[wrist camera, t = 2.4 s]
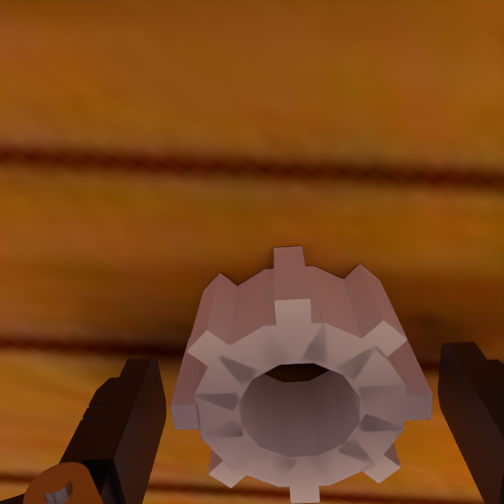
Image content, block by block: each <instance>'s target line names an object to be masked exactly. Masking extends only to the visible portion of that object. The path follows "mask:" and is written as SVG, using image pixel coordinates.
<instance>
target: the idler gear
mask: <svg viewBox="0 0 504 504" xmlns="http://www.w3.org/2000/svg"><path fill="white" fill-rule="evenodd" d="M302 363H315V364H317V365H320V366H322V367H325V368H327V369H329V371H327V372H325V373H324V374H322V375H320V376H318V377H316V378H314V379H312V380H310V381H300V382H282V381H280V380H277V379H275V378H272V377H270V376H267V375H265V374H263V373H265V372H267V371H269V370H271V369H272V368H274V367H276V366H278V365H282V364H302ZM432 400H433V393H432V391H431V389H430V387H429V384H428V382H427V380H426V378H425V376H424V374H423V372H422V370H421V367H420V365H419V363H418V361H417V359H416V357H415V355H414V352H413V350H412V348H411V346H410V344H409V342H408V339H407V337H406V335H405V333H404V331H403V328H402V326H401V324H400V322H399V320H398V318H397V316H396V313H395V311H394V309H393V307H392V305H391V303H390V301H389V299H388V296H387V294H386V292H385V290H384V288H383V286H382V284H381V282H380V280H379V279H378V278H377V277H376V276H374V275H373V274H372V273H371V272H370V271H368V270H367V269H366V268H365V267H364V266H362V265H361V264H359V265H358V266H357V267H356V268H355V269H354V270H353V271H352V272H351V273H350V274H349V275H347V276H346V277H345V278H344V279H342V278H339V277H337V276H335V275H333V274H330V273H328V272H326V271H324V270H321V269H319V268H317V267H315V266H306V267H305V261H304V255H303V249H302V246H293V247H279V248H274V269H264V270H263V271H261V272H260V273H258V274H256V275H255V276H253V277H251V278H250V279H248V280H247V281H245V282H243V283H242V284H240V285H238V286H237V285H236V284H234V283H233V282H232V281H230V280H229V279H228V278H226V277H225V276H224V275H222V274H221V273H219V274H218V275H217V276H216V278H215V279H214V280H213V281H212V282H211V283H210V284H209V285H208V286H207V287H206V289H205V290H204V291H203V294H202V297H201V301H200V305H199V308H198V312H197V315H196V319H195V322H194V326H193V330H192V333H191V337H190V338H189V339H188V343H187V346H186V350H185V354H184V357H183V361H182V364H181V368H180V371H179V375H178V378H177V382H176V385H175V389H174V392H173V396H172V399H171V403H170V410H171V415H172V419H173V424H174V429H175V430H185V429H200V435H201V436H200V437H201V438H202V439H203V440H204V441H205V442H206V443H207V444H208V445H209V446H210V447H211V448H212V451H211V458H210V465H209V471H208V474H209V475H211V476H212V477H214V478H215V479H217V480H219V481H220V482H222V483H224V484H225V485H227V486H228V487H230V488H232V487H233V486H234V485H235V484H236V483H238V482H239V481H240V480H241V479H242V478H244V477H245V476H246V475H247V476H250V477H253V478H255V479H258V480H261V481H264V482H266V483H269V484H272V485H274V486H277V487H290V499H291V503H316V502H320V499H319V486H328V485H329V486H330V485H332V484H334V483H336V482H339V481H341V480H343V479H345V478H348V477H350V476H352V475H354V474H357V473H359V472H361V471H362V472H363V473H365V474H366V475H368V476H369V477H370V478H372V479H373V480H375V481H376V482H378V483H380V482H382V481H383V480H384V479H386V478H387V477H389V476H390V475H391V474H393V473H394V472H395V471H397V470H398V469H400V468H401V465H400V462H399V459H398V456H397V453H396V449H395V446H394V443H393V442H394V441H395V440H396V439H397V437H398V436H399V435H400V434H401V432H402V431H403V430H404V420H428V419H431V412H432Z"/></svg>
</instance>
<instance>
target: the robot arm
mask: <svg viewBox="0 0 504 504" xmlns="http://www.w3.org/2000/svg"><path fill="white" fill-rule="evenodd" d="M438 398H439V404H440V407H441V411H442V413H443V415H444V417H445V419H446V422H447V424H448V426H449V428H450V430H451V432H452V434H453V436H454V439H455V441H456V443H457V445H458V447H459V449H460V451H461V453H462V456H463V458H464V460H465V462H466V464H467V466H468V468H469V470H470V473H471V475H472V477H473V479H474V481H475V483H476V485H477V487H478V490H479V492H480V494H481V496H482V498H483V500H484V502H485V504H504V364H503V363H501V362H500V361H499V360H487V359H486V358H485V356H484V355H483V353H482V352H481V350H480V349H479V348H478V346H477V345H476V344H475V343H474V342H454V343H444V344H443V345H442V348H441V358H440V370H439V381H438ZM165 420H166V399H165V394H164V389H163V385H162V380H161V375H160V370H159V366H158V362H157V359H156V358H155V357H153V358H134V359H128V360H127V362H126V364H125V366H124V368H123V370H122V372H121V374H120V377H117V378H109V379H108V380H107V381H106V382H105V383H104V384H103V385H102V386H101V387H100V388H99V389H97V390H96V392H95V394H94V396H93V398H92V400H91V402H90V404H89V408H87V410H86V412H85V414H84V416H83V420H81V421H80V423H79V425H78V427H77V429H76V431H75V433H74V435H73V437H72V439H71V441H70V443H69V445H68V447H67V449H66V451H65V453H64V455H63V457H62V459H61V461H60V463H59V464H58V465H55V466H53V467H50V468H49V469H47V470H45V471H44V472H42V473H41V474H40V475H38V476H37V477H36V478H35V479H34V480H33V481H32V482H31V484H30V485H29V487H28V488H27V490H26V492H25V493H24V494H21V495H19V496H16V497H12V498H9V499H6V500H3V501H0V504H142V502H143V499H144V495H145V492H146V488H147V485H148V481H149V478H150V474H151V471H152V467H153V464H154V460H155V457H156V453H157V449H158V446H159V442H160V439H161V435H162V432H163V428H164V425H165Z"/></svg>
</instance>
